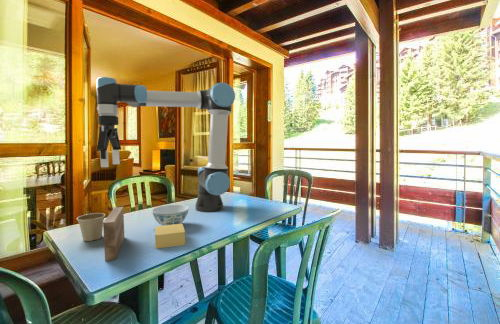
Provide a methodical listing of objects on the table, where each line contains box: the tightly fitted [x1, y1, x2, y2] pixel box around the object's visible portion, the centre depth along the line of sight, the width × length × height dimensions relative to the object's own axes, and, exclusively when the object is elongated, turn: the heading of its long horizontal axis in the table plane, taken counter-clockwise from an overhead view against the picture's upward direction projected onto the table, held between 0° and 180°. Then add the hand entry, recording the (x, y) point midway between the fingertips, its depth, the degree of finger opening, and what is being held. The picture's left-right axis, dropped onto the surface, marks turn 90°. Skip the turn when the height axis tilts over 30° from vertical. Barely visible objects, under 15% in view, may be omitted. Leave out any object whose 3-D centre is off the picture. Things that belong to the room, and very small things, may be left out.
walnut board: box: [102, 206, 125, 262], centre depth 90 cm, size 3×20×12 cm, turn 18°
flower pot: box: [76, 212, 106, 242], centre depth 99 cm, size 9×9×9 cm
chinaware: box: [151, 204, 189, 226], centre depth 113 cm, size 15×15×8 cm
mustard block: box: [154, 223, 186, 249], centre depth 96 cm, size 10×10×5 cm
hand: (110, 165), depth 112 cm, fingers open, 13 cm apart
